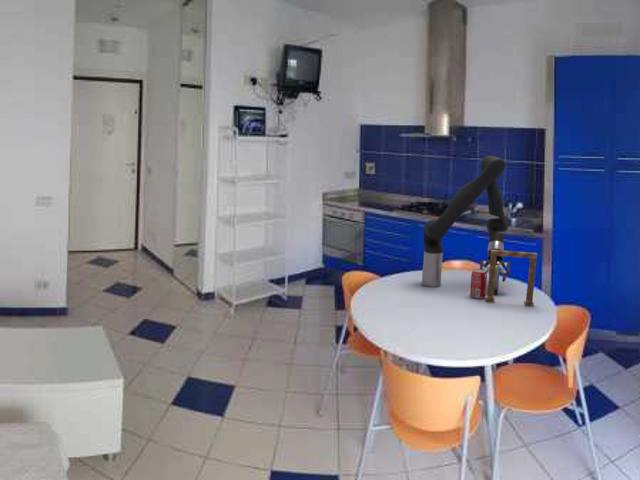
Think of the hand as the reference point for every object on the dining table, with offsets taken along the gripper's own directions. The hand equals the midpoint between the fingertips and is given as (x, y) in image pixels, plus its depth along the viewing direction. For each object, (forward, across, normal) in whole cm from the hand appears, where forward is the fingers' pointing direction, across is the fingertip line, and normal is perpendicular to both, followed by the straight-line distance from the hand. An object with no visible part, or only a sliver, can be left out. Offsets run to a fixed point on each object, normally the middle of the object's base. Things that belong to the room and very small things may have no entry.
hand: (494, 280), depth 254 cm
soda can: (+10, -7, 0) cm, 12 cm away
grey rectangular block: (+4, 0, +6) cm, 7 cm away
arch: (+13, +7, -2) cm, 15 cm away
